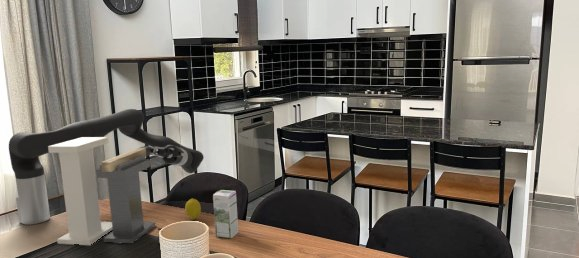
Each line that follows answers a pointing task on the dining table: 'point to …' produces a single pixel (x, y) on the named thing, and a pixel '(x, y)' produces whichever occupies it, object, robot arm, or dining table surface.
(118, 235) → the holder
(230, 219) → the syrup box
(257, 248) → the dining table surface
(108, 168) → the bar
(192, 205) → the lemon
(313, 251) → the dining table surface
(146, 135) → the robot arm
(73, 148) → the white i-beam pedestal
